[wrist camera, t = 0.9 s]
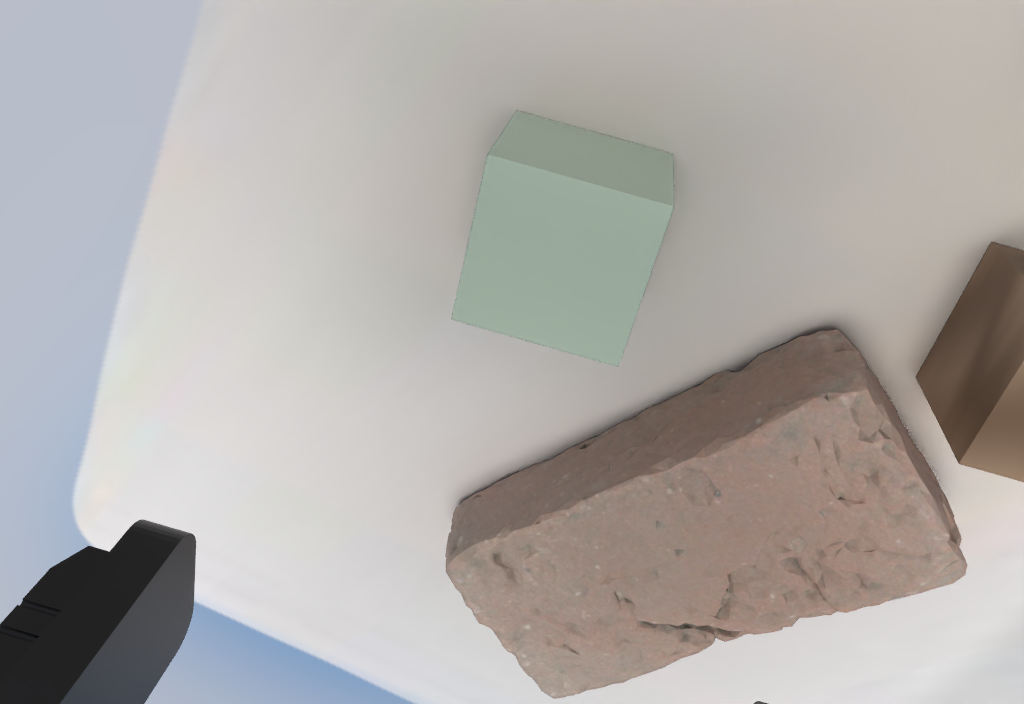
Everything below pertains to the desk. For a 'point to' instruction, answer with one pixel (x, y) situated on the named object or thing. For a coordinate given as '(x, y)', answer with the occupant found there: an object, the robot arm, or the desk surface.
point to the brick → (707, 522)
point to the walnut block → (983, 368)
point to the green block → (564, 237)
